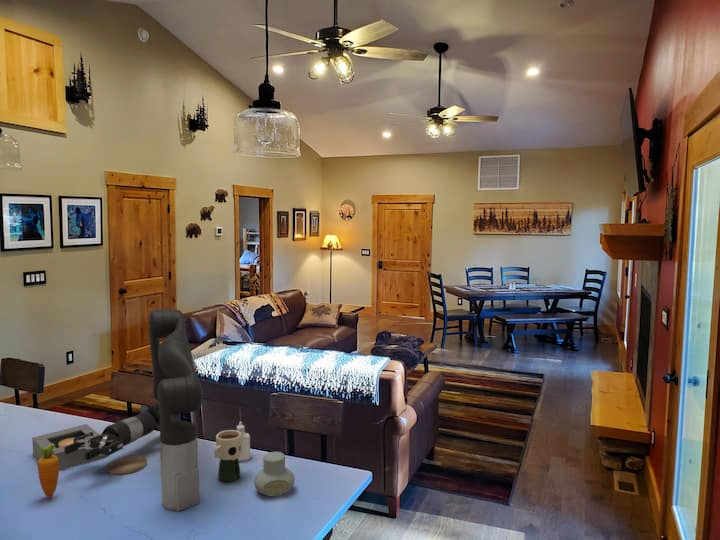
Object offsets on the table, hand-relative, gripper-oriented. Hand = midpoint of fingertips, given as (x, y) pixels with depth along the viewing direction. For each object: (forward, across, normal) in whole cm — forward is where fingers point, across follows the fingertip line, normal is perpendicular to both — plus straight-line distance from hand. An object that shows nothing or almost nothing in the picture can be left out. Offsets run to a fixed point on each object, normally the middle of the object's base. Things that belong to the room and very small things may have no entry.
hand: (75, 453), depth 146 cm
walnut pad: (-14, +4, +9) cm, 17 cm away
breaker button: (-12, -18, +6) cm, 23 cm away
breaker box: (-12, -18, +9) cm, 24 cm away
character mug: (-22, +36, +9) cm, 43 cm away
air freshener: (-21, +52, +9) cm, 57 cm away
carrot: (+8, 0, +9) cm, 12 cm away
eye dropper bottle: (-33, +32, +9) cm, 46 cm away
